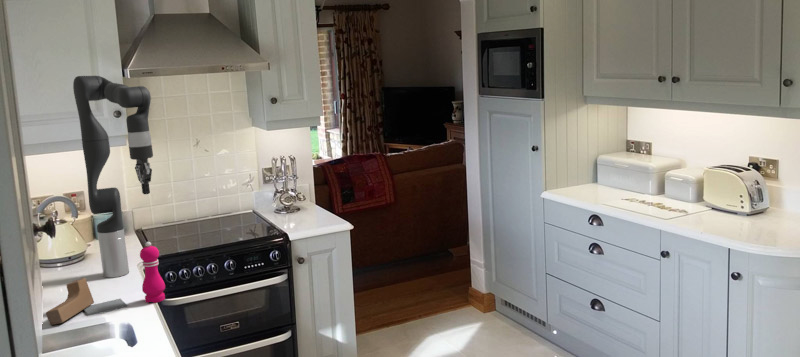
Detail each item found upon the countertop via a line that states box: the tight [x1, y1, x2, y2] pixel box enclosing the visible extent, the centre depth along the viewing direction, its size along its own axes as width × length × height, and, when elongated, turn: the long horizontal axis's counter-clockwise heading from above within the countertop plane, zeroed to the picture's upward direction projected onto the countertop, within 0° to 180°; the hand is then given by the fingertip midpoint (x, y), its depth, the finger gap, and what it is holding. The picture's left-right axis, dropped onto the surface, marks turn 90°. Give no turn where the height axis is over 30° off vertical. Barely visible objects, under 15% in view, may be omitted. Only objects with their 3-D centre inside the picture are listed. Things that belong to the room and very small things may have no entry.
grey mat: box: [82, 298, 128, 316], centre depth 233 cm, size 8×12×1 cm
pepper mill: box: [139, 241, 166, 304], centre depth 236 cm, size 7×7×20 cm
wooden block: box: [45, 277, 95, 326], centre depth 227 cm, size 9×4×18 cm
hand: (146, 193), depth 250 cm, fingers closed
